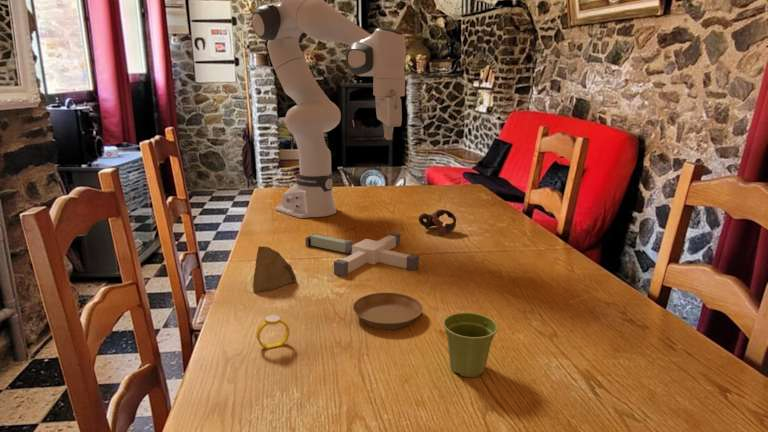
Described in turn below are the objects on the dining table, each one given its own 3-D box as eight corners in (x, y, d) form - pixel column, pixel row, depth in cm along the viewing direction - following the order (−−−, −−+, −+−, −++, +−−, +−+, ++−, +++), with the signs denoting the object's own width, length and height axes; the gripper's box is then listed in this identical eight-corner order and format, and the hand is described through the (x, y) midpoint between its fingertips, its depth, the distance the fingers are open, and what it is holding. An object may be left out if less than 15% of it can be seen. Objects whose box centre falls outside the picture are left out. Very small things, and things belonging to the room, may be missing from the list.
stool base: (321, 270, 135) (321, 256, 133) (380, 240, 158) (380, 227, 157) (387, 288, 125) (387, 272, 124) (439, 252, 148) (440, 239, 147)
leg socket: (305, 246, 152) (305, 237, 151) (316, 241, 156) (315, 233, 156) (318, 249, 150) (317, 240, 149) (328, 244, 154) (328, 236, 153)
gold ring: (286, 341, 101) (287, 313, 100) (290, 347, 99) (291, 319, 97) (255, 345, 98) (255, 316, 97) (258, 352, 96) (259, 323, 95)
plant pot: (436, 354, 96) (438, 312, 94) (485, 353, 97) (489, 311, 95) (446, 384, 87) (448, 338, 85) (500, 382, 88) (504, 337, 86)
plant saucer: (370, 297, 120) (370, 287, 119) (431, 309, 114) (431, 299, 114) (340, 325, 107) (340, 314, 106) (407, 341, 101) (407, 329, 101)
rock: (299, 266, 131) (259, 261, 130) (300, 248, 124) (258, 242, 123) (293, 304, 125) (251, 300, 124) (293, 287, 118) (249, 282, 117)
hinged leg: (354, 251, 148) (354, 241, 147) (350, 254, 146) (350, 243, 145) (315, 243, 154) (315, 233, 153) (310, 245, 152) (310, 235, 151)
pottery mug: (448, 227, 174) (457, 210, 168) (450, 247, 167) (459, 230, 161) (414, 219, 172) (422, 201, 166) (414, 239, 165) (423, 221, 159)
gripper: (408, 91, 135) (406, 144, 139) (393, 87, 154) (392, 134, 158) (384, 91, 134) (383, 144, 138) (372, 87, 153) (372, 134, 157)
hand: (388, 139), depth 148 cm, fingers closed
